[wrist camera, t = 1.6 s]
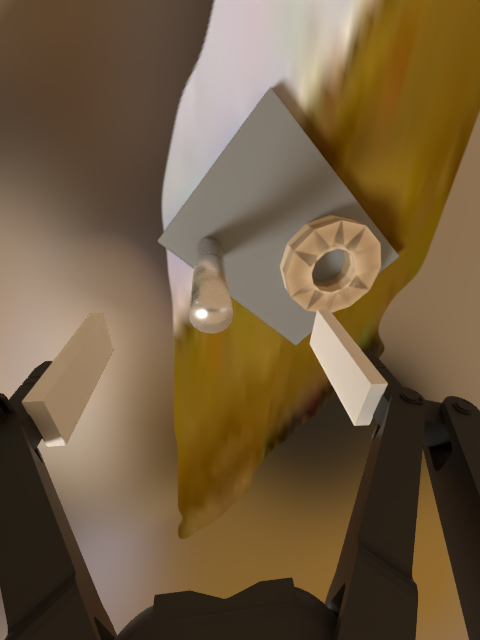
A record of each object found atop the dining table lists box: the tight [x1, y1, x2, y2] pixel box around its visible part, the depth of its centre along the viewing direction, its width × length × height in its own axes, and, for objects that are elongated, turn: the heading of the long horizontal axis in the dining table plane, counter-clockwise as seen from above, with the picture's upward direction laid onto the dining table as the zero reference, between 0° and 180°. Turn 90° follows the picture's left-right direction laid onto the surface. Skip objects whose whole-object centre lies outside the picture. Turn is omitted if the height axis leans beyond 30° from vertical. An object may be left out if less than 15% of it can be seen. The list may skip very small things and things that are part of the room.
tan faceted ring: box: [280, 215, 381, 312], centre depth 32 cm, size 11×11×3 cm
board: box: [158, 87, 399, 345], centre depth 32 cm, size 24×18×2 cm
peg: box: [189, 237, 233, 333], centre depth 24 cm, size 3×3×15 cm
